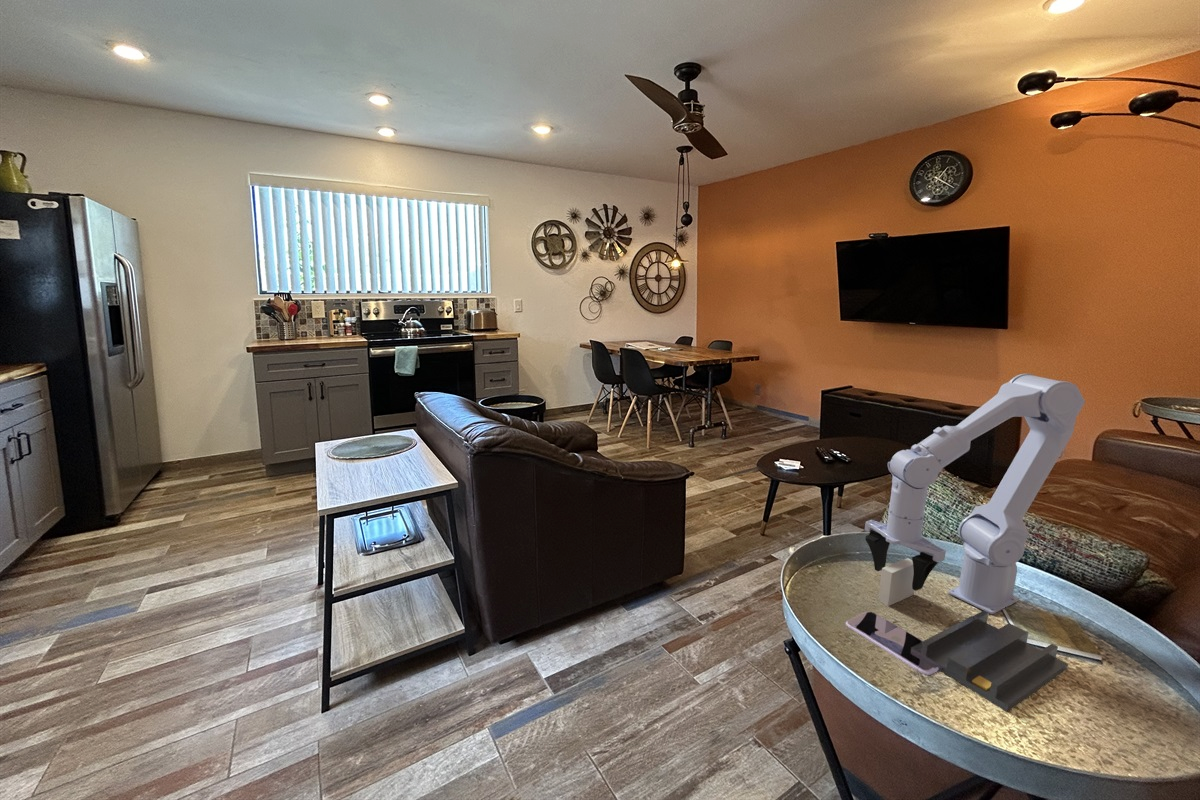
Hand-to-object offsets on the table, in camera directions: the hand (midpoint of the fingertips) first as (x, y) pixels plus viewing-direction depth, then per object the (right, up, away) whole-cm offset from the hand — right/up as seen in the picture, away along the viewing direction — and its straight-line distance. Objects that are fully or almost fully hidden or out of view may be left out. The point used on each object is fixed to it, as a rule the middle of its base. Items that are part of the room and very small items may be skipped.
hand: (897, 578), depth 101 cm
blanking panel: (0, -4, +1) cm, 4 cm away
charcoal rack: (+5, -8, -17) cm, 19 cm away
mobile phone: (-7, -7, -12) cm, 15 cm away
